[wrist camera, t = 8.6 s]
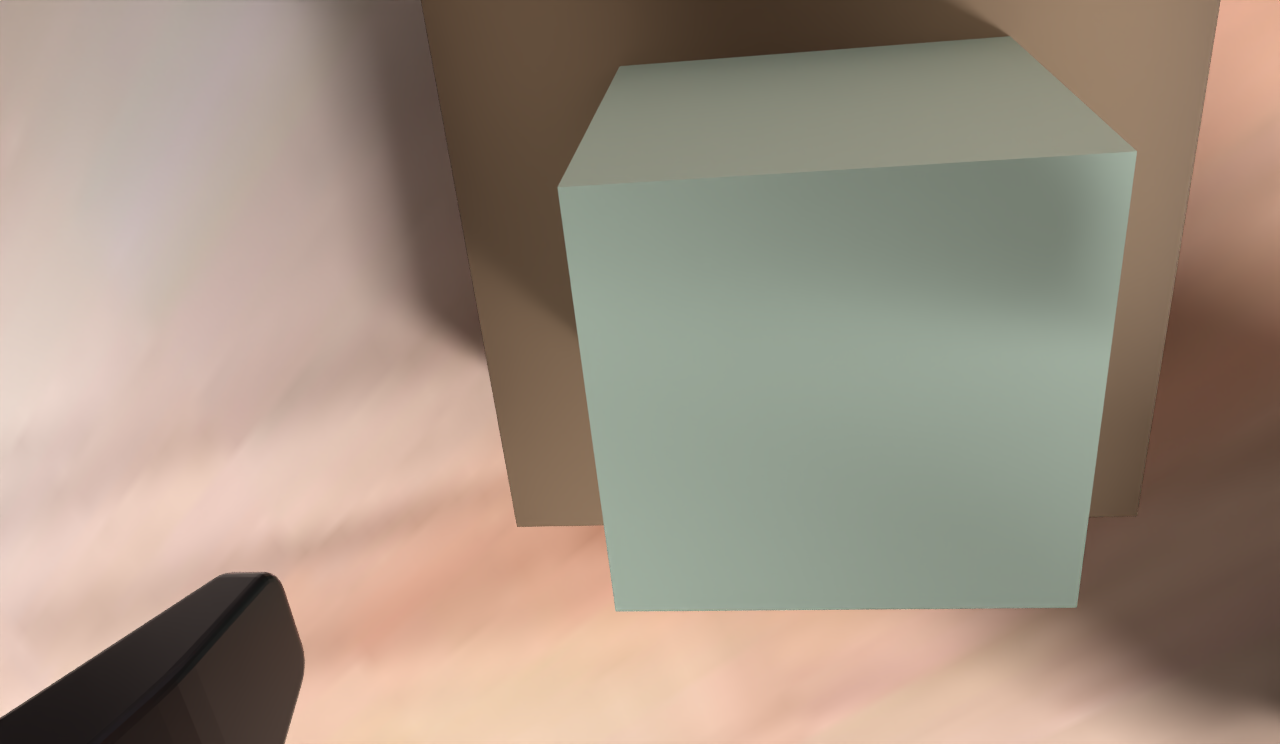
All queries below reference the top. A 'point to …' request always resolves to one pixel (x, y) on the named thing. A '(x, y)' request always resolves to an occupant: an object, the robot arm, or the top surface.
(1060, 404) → the sage cube
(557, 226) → the walnut base
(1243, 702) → the top surface
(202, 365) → the top surface
